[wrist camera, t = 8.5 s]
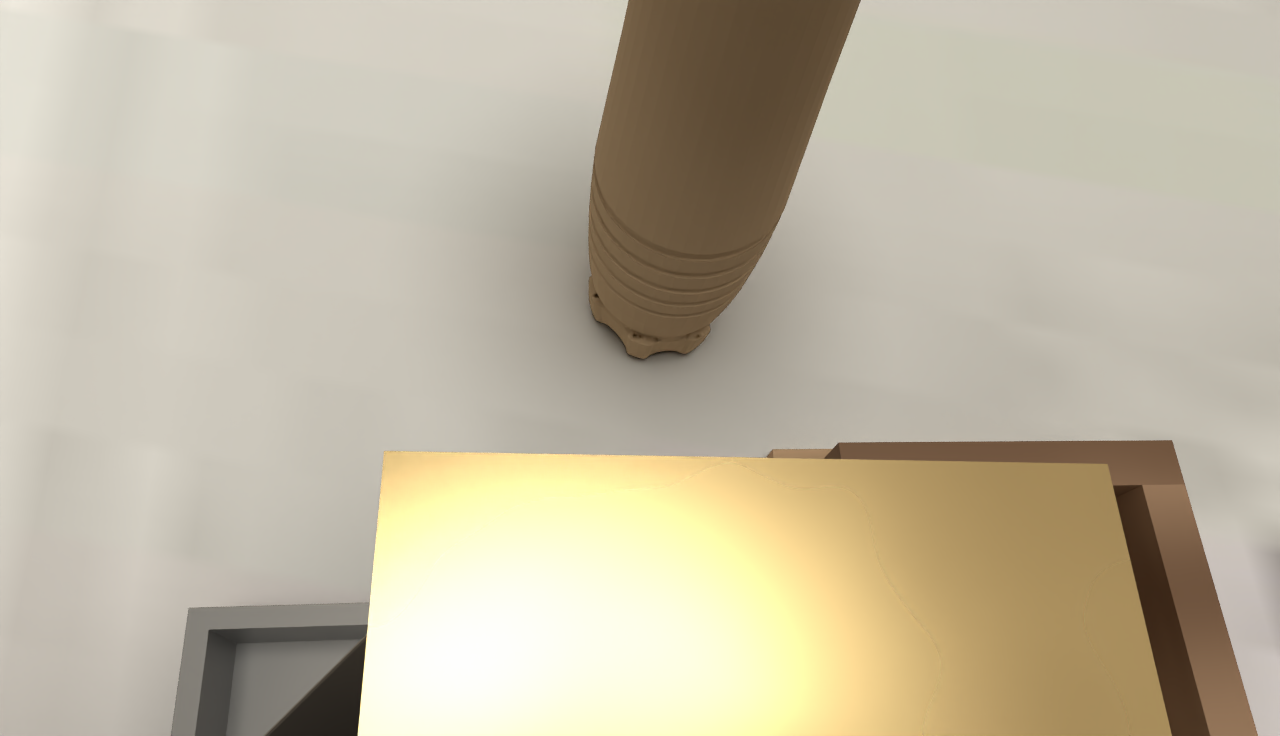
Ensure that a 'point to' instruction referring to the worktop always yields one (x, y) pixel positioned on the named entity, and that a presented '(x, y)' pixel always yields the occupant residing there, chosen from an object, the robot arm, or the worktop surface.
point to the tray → (258, 663)
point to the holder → (1160, 557)
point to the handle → (701, 155)
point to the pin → (752, 599)
